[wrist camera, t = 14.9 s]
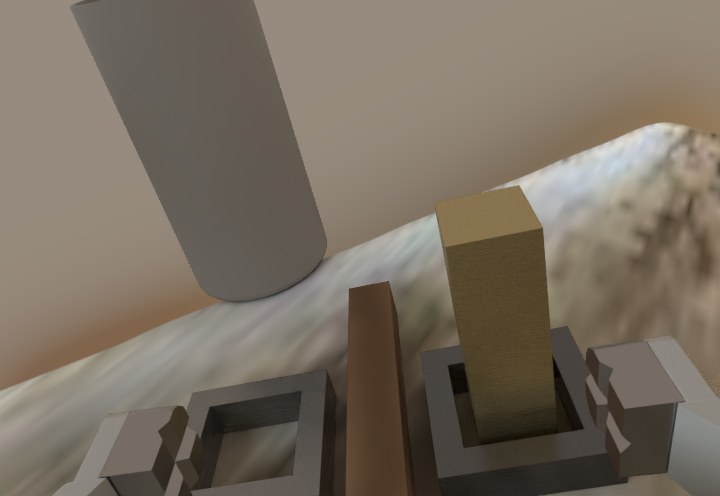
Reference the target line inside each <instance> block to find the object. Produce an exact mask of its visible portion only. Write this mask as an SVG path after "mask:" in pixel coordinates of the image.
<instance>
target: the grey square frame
mask: <svg viewBox="0 0 720 496" xmlns="http://www.w3.org/2000/svg"><path fill="white" fill-rule="evenodd" d="M187 414H188V416H189V421H188V424H187V427H189V428H190V429H192V430H194V431H195V432H197V434H198V436H199V438H200V440H201V444H202V449H203V467H202V471H201V475H200V479H199V480H198V481H197V482H196V483H195V484H194V485H193V486H192V488H191V489H190V491H191V493H192V495H193V496H333V473H334V447H335V421H336V394H335V391H334V388H333V386H332V383H331V380H330V377H329V374H328V371H327V369H324V370H319V371H313V372H307V373H302V374H296V375H290V376H285V377H279V378H274V379H268V380H262V381H257V382H251V383H245V384H240V385H234V386H228V387H223V388H217V389H212V390H206V391H200V392H195V393H192V396H191V399H190V403H189V406H188V409H187ZM293 421H299V422H298V431H297V441H296V450H295V459H294V468H293V475H290V476H284V477H278V478H271V479H265V480H259V481H252V482H246V483H239V484H233V485H227V486H220V487H214V488H210V486H211V482H212V478H213V473H214V469H215V465H216V461H217V457H218V453H219V449H220V445H221V441H222V437H223V433H227V432H233V431H239V430H245V429H251V428H257V427H263V426H269V425H275V424H281V423H287V422H293Z"/></svg>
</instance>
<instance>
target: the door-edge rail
mask: <svg viewBox="0 0 720 496" xmlns="http://www.w3.org/2000/svg"><path fill="white" fill-rule="evenodd" d="M346 496H415V491H414V481H413V471H412V461H411V451H410V441H409V431H408V421H407V410H406V400H405V390H404V380H403V370H402V360H401V350H400V340H399V330H398V320H397V312H396V308H395V304H394V300H393V296H392V292H391V288H390V284H389V281H387V282H382V283H377V284H371V285H366V286H361V287H356V288H351V289H349V317H348V379H347V440H346Z"/></svg>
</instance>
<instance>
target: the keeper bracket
mask: <svg viewBox="0 0 720 496" xmlns="http://www.w3.org/2000/svg"><path fill="white" fill-rule="evenodd" d="M550 331H551V345H552V359H553V372H554V384H555V387H556V389H557V392H558V394H559V397H560V399H561V402H562V404H563V407H564V409H565V411H566V414H567V416H568V419H569V421H570V424H571V426H572V429H573V431H571V432H564V433H558V434H551V435H545V436H539V437H532V438H526V439H520V440H513V441H507V442H500V443H494V444H488V445H481V446H475V447H469V448H464V445H463V440H462V435H461V430H460V425H459V420H458V415H457V410H456V405H455V400H454V395H453V394H459V393H465V392H469V390H468V384H467V379H466V373H465V368H464V363H463V357H462V352H461V346H460V345H459V346H454V347H448V348H442V349H437V350H431V351H426V352H420V354H421V361H422V369H423V376H424V383H425V390H426V397H427V404H428V411H429V418H430V425H431V432H432V439H433V446H434V453H435V460H436V467H437V474H438V480H439V484H440V488H441V492H442V496H539V495H546V494H552V493H559V492H566V491H573V490H580V489H587V488H594V487H601V486H607V485H614V484H621V483H628V477H619V476H618V474H617V472H616V470H615V468H614V466H613V464H612V461H611V459H610V457H609V455H608V453H607V451H606V448H605V437H606V434H604V433H603V432H601V431H600V430H598V429H597V428H596V426H595V424H594V422H593V419H592V417H591V414H590V411H589V408H588V403H587V398H586V383H585V380H586V379H587V377H588V376H589V375H590V374H591V373H590V371H589V369H588V367H587V365H586V363H585V361H584V359H583V357H582V355H581V353H580V351H579V349H578V347H577V345H576V343H575V340H574V338H573V336H572V334H571V332H570V330H569V328H568V326H566V327H561V328H555V329H550Z"/></svg>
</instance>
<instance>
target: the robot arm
mask: <svg viewBox="0 0 720 496" xmlns="http://www.w3.org/2000/svg"><path fill="white" fill-rule="evenodd" d="M586 364H587V366H588V368H589V370H590V372H591V374H590V375H589V376H588V377H587V379H586V380H585V383H586V398H587V403H588V408H589V411H590V414H591V417H592V419H593V422H594V424H595V426H596V428H597V429H598V430H600V431H601V432H603V433H604V434H606V437H605V448H606V451H607V453H608V455H609V457H610V459H611V461H612V464H613V466H614V468H615V470H616V472H617V474H618V476H619V477H629V476H640V475H651V474H662V473H667V476H669V477H670V478H671V479H672V480H674V481H675V482H676V483H677V484H678V485H680V486H681V487H682V488H683V489H685V490H686V491H687V492H688V493H690V494H691V495H692V496H720V398H718V397H717V395H716V394H715V393H714V391H713V390H712V388H711V387H710V386H709V384H708V383H707V382H706V380H705V379H704V378H703V376H702V375H701V374H700V372H699V371H698V369H697V368H696V367H695V365H694V364H693V363H692V361H691V360H690V359H689V357H688V356H687V355H686V353H685V352H684V350H683V349H682V348H681V346H680V345H679V344H678V342H677V341H676V340H675V338H673V337H671V336H670V335H668V336H661V337H655V338H648V339H642V340H636V341H629V342H623V343H616V344H609V345H603V346H596V347H589V348H588V350H587V353H586ZM188 421H189V416H188V414H187V412H186V410H185V409H184V407H183V406H170V407H161V408H153V409H144V410H135V411H131V412H122V413H113V414H109V415H108V416H107V417H106V418H105V419H104V420H103V422H102V424H101V426H100V428H99V430H98V432H97V434H96V436H95V438H94V440H93V442H92V444H91V446H90V448H89V450H88V452H87V455H86V457H85V459H84V461H83V463H82V465H81V467H80V469H79V471H78V473H77V475H76V477H75V479H74V481H73V482H69V483H65V484H64V485H63V486H62V487H61V488H60V489H59V490H57V491H56V492H55V493H54V494H53V495H52V496H193V495H192V493H191V491H190V489H191V488H192V486H193V485H194V484H195V483H196V482H197V481H198V480H199V479H200V475H201V471H202V467H203V449H202V444H201V440H200V438H199V436H198V434H197V432H195V431H194V430H192V429H190V428H189V427H187V424H188Z"/></svg>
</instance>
